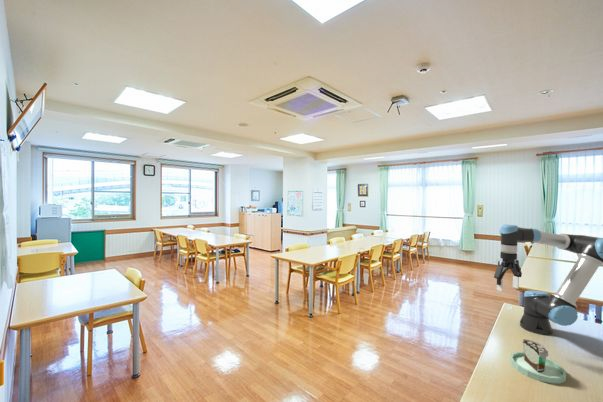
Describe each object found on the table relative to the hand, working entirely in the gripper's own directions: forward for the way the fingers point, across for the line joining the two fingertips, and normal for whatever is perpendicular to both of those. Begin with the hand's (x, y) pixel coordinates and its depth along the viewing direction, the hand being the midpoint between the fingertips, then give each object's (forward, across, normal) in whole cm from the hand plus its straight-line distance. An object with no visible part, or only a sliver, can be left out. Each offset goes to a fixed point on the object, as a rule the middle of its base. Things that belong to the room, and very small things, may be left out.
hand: (507, 289), depth 156 cm
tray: (+29, +15, +23) cm, 40 cm away
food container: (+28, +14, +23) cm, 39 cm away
